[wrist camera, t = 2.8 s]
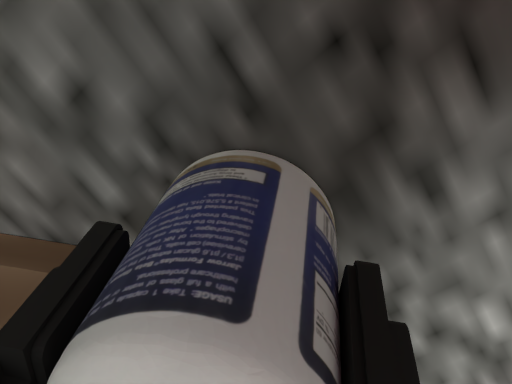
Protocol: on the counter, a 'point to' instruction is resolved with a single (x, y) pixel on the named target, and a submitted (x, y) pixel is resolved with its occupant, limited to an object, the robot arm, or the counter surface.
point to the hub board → (25, 269)
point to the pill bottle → (220, 285)
